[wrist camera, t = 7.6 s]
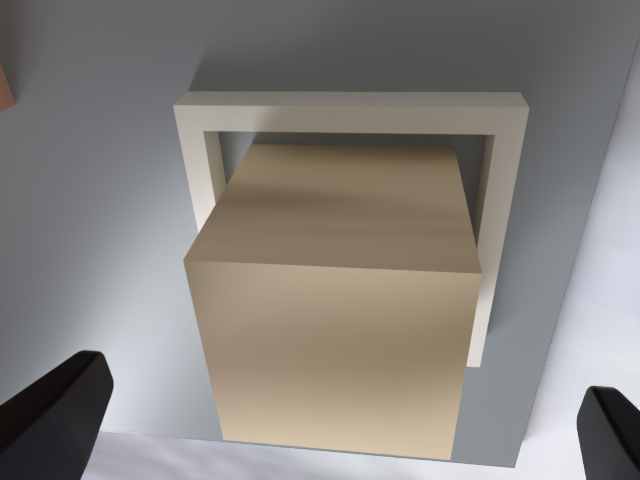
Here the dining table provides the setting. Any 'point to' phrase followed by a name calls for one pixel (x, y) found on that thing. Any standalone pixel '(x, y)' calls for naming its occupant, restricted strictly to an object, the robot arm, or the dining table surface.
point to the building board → (291, 129)
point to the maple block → (338, 298)
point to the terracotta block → (5, 93)
